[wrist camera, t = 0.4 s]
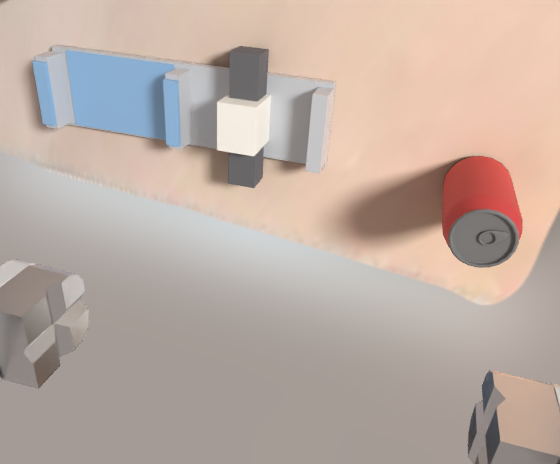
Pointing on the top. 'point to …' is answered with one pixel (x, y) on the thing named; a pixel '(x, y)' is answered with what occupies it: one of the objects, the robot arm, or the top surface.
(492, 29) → the top surface
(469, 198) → the beer can
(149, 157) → the top surface
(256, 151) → the grey post with collar
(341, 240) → the top surface
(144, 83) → the slider rail
